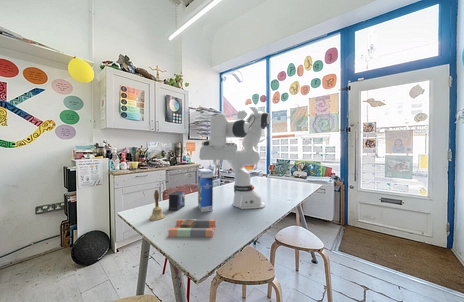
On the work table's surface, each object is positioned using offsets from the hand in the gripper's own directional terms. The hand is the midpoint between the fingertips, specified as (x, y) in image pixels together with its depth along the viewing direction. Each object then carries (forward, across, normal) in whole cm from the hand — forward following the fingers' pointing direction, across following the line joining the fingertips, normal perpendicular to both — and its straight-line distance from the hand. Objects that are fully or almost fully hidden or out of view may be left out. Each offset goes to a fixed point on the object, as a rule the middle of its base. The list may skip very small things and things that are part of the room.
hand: (218, 168), depth 94 cm
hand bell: (+29, +36, -4) cm, 47 cm away
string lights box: (+29, +11, -20) cm, 37 cm away
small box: (+29, +30, -20) cm, 46 cm away
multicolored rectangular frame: (+29, +11, +11) cm, 33 cm away
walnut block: (+29, +14, +10) cm, 34 cm away
